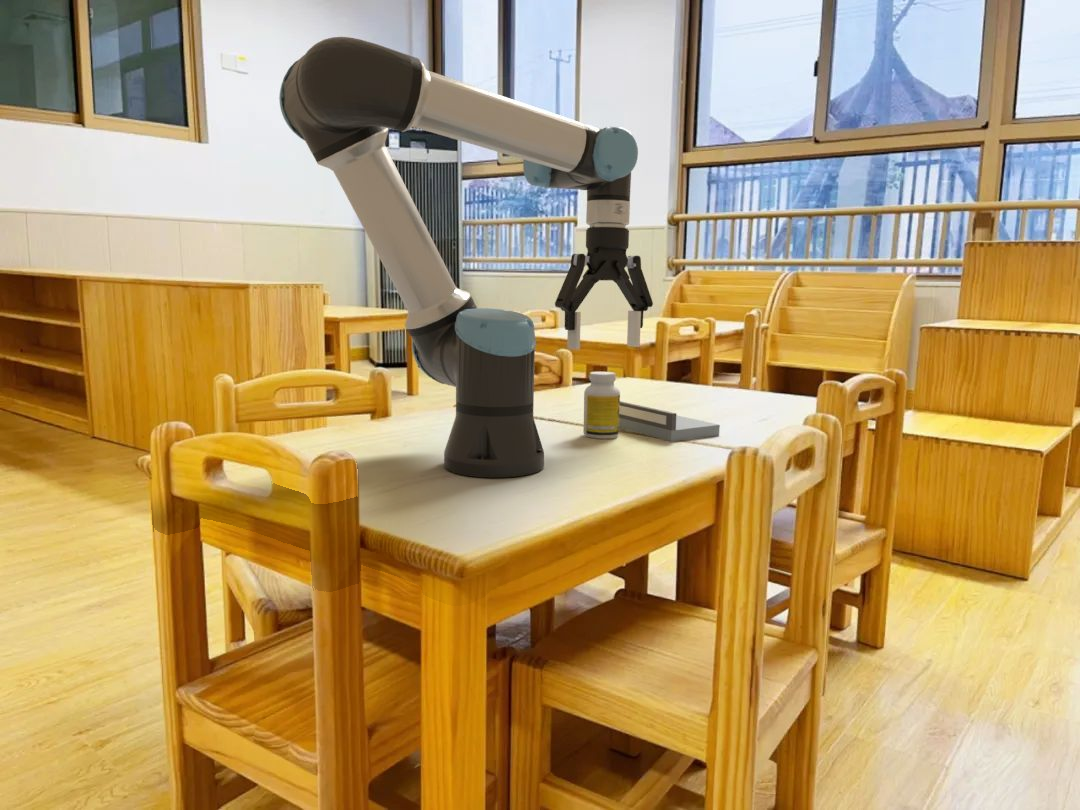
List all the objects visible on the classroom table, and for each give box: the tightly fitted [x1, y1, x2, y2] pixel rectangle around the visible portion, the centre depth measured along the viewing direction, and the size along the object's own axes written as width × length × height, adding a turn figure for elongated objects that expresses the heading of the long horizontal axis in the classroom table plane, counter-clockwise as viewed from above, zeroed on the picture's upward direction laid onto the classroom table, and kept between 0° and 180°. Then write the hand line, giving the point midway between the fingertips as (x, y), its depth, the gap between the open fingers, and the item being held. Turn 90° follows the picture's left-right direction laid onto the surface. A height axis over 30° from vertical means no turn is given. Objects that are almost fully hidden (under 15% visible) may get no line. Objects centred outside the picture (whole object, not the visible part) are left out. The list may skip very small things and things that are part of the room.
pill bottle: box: [583, 371, 621, 440], centre depth 147 cm, size 6×6×12 cm
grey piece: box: [619, 400, 721, 442], centre depth 153 cm, size 12×16×5 cm
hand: (604, 348), depth 145 cm, fingers open, 13 cm apart
